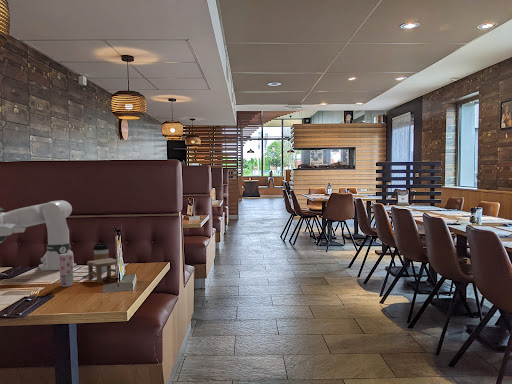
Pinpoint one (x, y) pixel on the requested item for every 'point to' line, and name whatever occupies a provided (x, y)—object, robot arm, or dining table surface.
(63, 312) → the dining table surface
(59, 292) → the dining table surface
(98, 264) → the stool
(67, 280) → the beverage can
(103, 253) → the coffee cup
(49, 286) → the dining table surface
